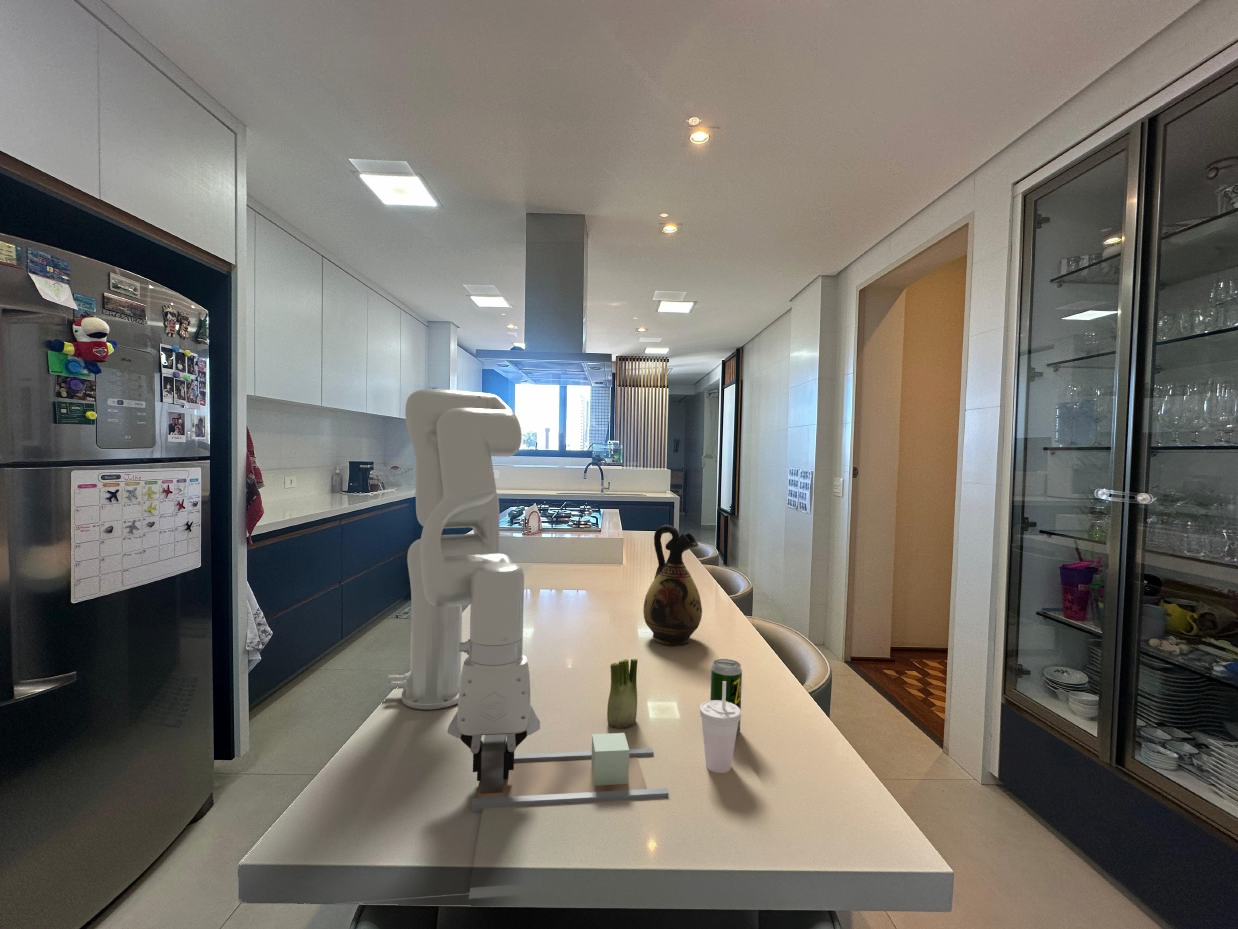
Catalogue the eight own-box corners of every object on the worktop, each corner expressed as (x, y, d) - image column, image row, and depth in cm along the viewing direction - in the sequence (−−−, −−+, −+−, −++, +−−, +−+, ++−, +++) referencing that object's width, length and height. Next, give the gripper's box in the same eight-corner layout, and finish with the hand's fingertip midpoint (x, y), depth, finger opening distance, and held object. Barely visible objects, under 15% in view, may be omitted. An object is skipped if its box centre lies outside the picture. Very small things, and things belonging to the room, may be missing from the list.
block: (594, 785, 81) (595, 751, 81) (591, 766, 86) (592, 734, 86) (628, 784, 82) (629, 750, 82) (623, 764, 87) (624, 732, 87)
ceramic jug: (710, 637, 151) (714, 526, 150) (685, 654, 138) (689, 532, 137) (654, 625, 160) (657, 520, 159) (626, 640, 147) (629, 525, 146)
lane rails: (471, 812, 76) (472, 804, 76) (481, 763, 88) (481, 756, 88) (668, 801, 79) (668, 793, 79) (652, 755, 91) (652, 748, 91)
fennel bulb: (635, 719, 103) (637, 654, 103) (640, 732, 99) (642, 664, 98) (604, 721, 102) (605, 655, 102) (608, 734, 98) (610, 666, 97)
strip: (475, 805, 77) (476, 757, 77) (482, 768, 86) (483, 725, 86) (647, 795, 80) (649, 749, 80) (637, 761, 89) (638, 719, 89)
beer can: (707, 735, 98) (709, 667, 98) (711, 721, 103) (713, 656, 103) (738, 740, 97) (740, 671, 96) (741, 726, 102) (743, 660, 102)
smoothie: (730, 787, 83) (733, 693, 83) (690, 773, 86) (693, 683, 86) (745, 767, 88) (748, 679, 88) (707, 754, 92) (709, 669, 92)
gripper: (432, 660, 77) (430, 794, 77) (553, 658, 79) (550, 787, 79) (442, 642, 84) (439, 763, 84) (552, 640, 86) (549, 758, 87)
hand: (493, 774), depth 82 cm, fingers closed on strip, 3 cm apart
